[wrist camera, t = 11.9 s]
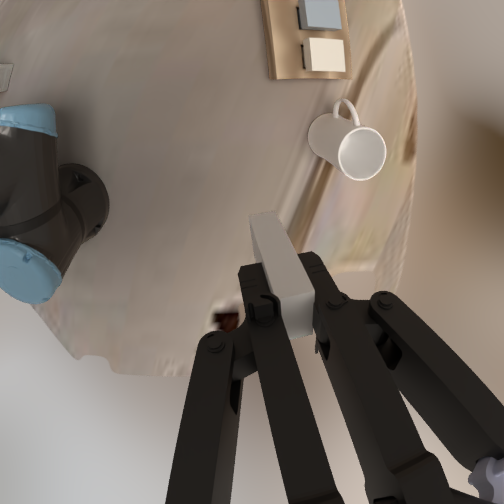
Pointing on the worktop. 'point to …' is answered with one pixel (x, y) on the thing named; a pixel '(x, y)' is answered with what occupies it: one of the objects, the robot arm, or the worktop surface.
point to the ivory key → (323, 55)
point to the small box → (5, 76)
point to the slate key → (319, 15)
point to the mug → (347, 143)
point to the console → (297, 41)
